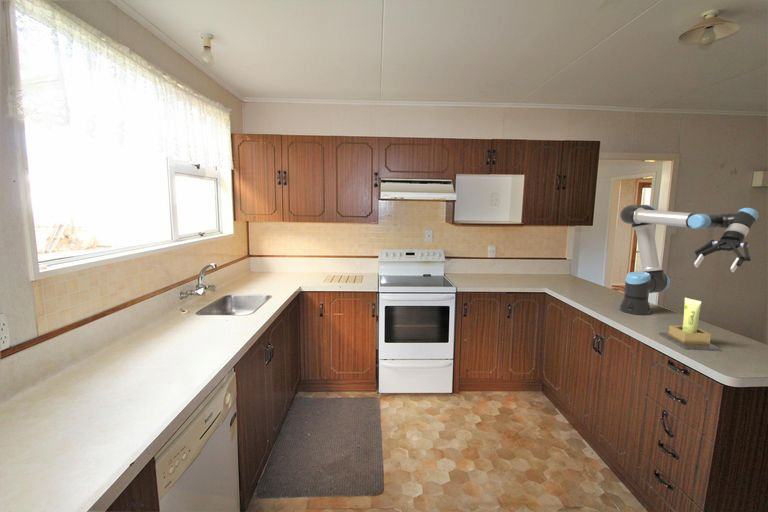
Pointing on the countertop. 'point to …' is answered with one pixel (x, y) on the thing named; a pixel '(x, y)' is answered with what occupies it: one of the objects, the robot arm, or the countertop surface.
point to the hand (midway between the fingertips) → (713, 268)
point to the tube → (691, 315)
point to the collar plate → (690, 339)
